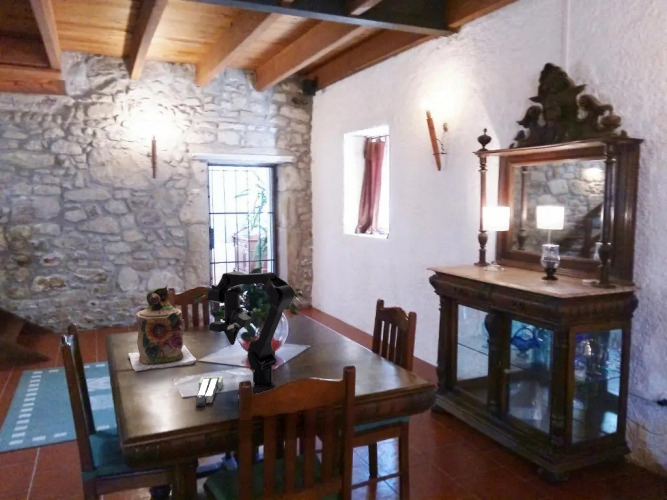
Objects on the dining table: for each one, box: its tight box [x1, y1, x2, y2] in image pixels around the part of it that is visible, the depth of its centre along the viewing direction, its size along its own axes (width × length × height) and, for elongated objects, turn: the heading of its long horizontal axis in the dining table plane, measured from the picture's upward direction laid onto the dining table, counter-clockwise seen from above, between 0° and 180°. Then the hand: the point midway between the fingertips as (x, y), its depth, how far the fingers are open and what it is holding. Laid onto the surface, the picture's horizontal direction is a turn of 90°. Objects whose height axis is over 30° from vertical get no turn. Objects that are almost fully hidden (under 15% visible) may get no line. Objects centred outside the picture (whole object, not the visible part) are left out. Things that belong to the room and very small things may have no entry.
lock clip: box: [198, 375, 224, 391], centre depth 192 cm, size 8×6×2 cm
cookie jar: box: [127, 284, 197, 372], centre depth 222 cm, size 25×25×32 cm
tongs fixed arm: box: [205, 379, 218, 404], centre depth 185 cm, size 2×16×2 cm, turn 6°
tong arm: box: [195, 379, 210, 407], centre depth 183 cm, size 3×20×3 cm, turn 7°
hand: (232, 344), depth 204 cm, fingers closed
